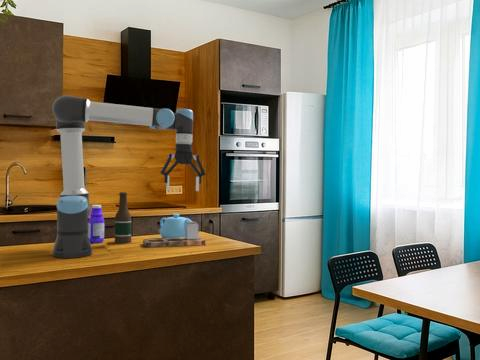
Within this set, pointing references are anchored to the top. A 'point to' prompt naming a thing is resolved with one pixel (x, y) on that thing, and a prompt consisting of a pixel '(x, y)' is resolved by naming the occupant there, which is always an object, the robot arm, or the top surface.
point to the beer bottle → (123, 221)
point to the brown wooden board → (172, 242)
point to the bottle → (96, 225)
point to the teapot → (173, 227)
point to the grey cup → (191, 231)
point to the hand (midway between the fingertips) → (182, 190)
